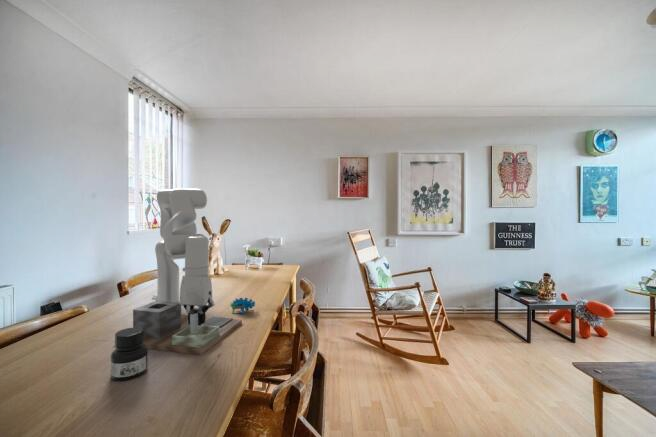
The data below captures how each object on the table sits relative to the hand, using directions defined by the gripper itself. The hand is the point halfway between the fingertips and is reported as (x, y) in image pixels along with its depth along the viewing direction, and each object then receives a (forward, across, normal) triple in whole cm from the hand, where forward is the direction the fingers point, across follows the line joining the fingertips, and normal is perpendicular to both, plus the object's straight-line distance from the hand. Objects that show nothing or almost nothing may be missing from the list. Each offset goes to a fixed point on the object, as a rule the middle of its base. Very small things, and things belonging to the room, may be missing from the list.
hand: (196, 323), depth 106 cm
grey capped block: (+4, 0, 0) cm, 4 cm away
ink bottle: (+8, -7, -21) cm, 23 cm away
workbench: (+7, -10, +7) cm, 14 cm away
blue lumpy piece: (+8, 0, +34) cm, 35 cm away
